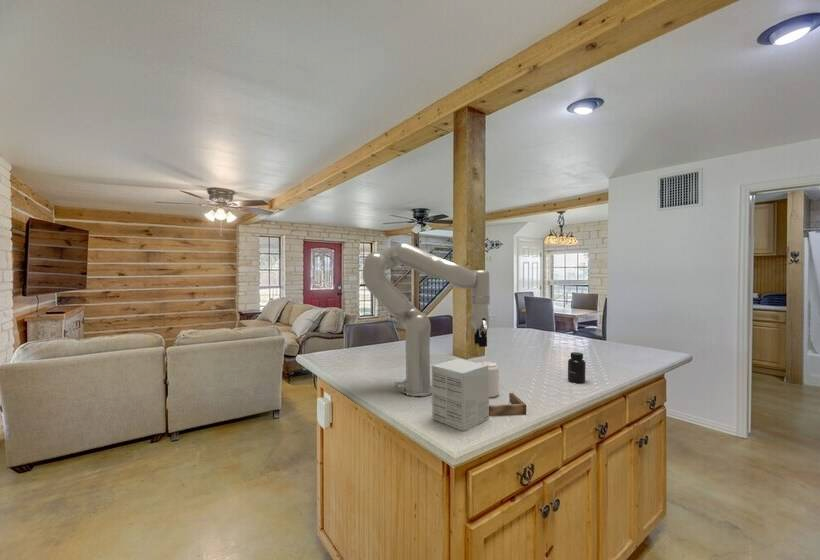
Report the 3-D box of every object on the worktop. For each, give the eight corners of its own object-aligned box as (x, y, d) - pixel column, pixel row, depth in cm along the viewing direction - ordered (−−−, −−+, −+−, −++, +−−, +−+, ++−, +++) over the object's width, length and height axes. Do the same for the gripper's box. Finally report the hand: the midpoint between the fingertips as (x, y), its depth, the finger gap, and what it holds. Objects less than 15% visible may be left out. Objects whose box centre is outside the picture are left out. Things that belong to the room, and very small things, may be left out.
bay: (486, 416, 118) (486, 407, 118) (476, 402, 130) (476, 394, 130) (526, 414, 120) (526, 405, 120) (512, 401, 132) (512, 392, 132)
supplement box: (457, 408, 126) (457, 358, 125) (489, 419, 116) (489, 364, 116) (431, 419, 117) (430, 365, 116) (463, 432, 107) (463, 373, 107)
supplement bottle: (568, 382, 152) (567, 354, 152) (567, 378, 158) (567, 351, 158) (586, 384, 149) (586, 355, 149) (585, 379, 156) (584, 352, 156)
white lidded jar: (499, 398, 134) (498, 366, 134) (476, 397, 136) (476, 365, 136) (498, 391, 142) (498, 361, 142) (477, 390, 144) (476, 360, 144)
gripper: (465, 299, 156) (466, 341, 156) (476, 302, 138) (477, 349, 139) (483, 298, 156) (483, 340, 157) (496, 302, 139) (496, 349, 139)
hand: (480, 344), depth 148 cm, fingers open, 5 cm apart
